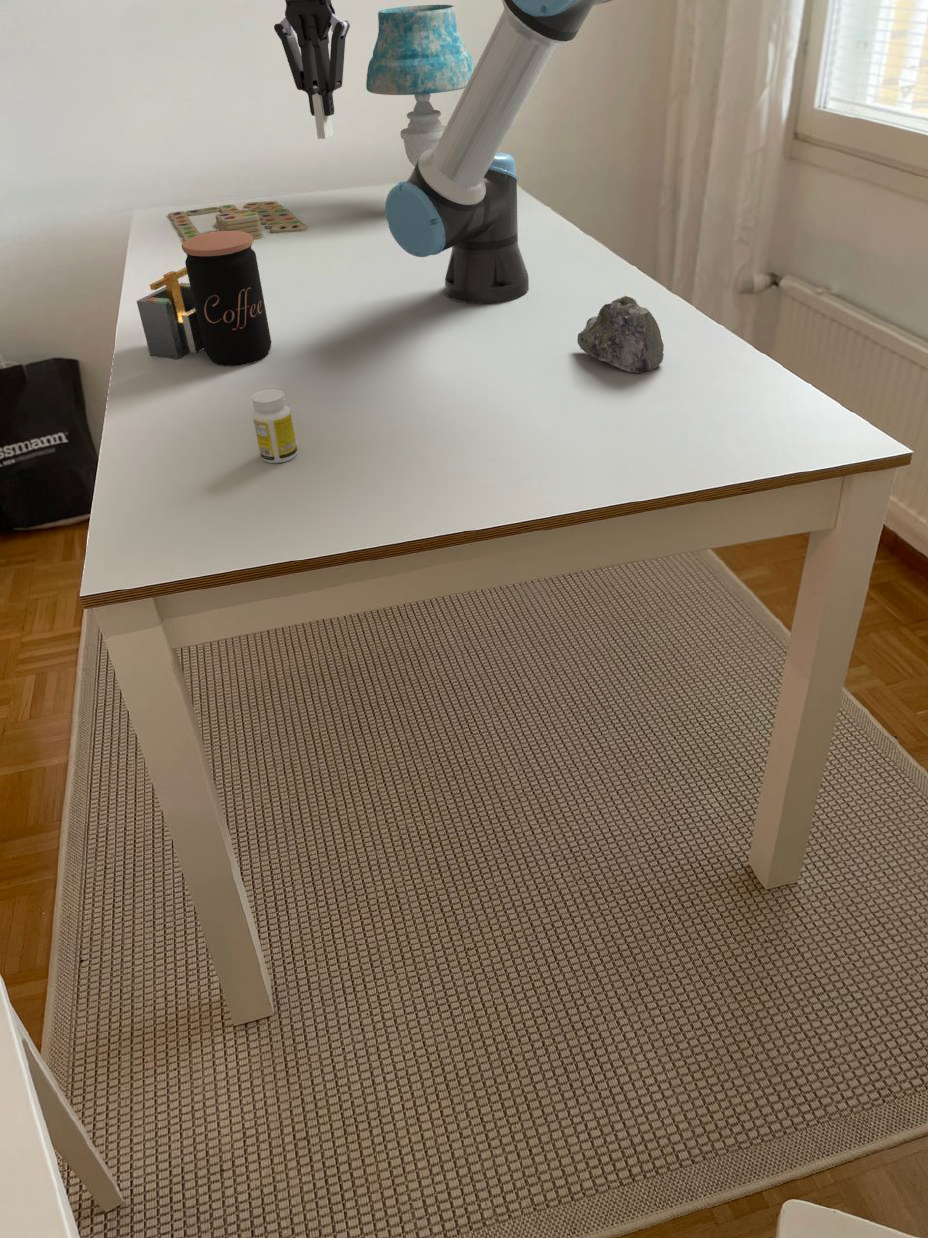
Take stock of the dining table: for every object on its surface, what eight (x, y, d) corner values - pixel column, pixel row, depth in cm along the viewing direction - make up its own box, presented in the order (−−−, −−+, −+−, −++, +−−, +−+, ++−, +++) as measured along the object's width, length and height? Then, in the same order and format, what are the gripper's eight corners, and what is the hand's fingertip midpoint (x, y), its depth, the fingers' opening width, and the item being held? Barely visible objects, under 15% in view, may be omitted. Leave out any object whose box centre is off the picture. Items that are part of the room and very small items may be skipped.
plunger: (227, 334, 163) (213, 266, 157) (193, 354, 156) (178, 284, 150) (199, 330, 165) (185, 264, 159) (165, 350, 158) (148, 281, 152)
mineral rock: (574, 349, 152) (574, 284, 147) (640, 341, 154) (643, 276, 148) (597, 380, 142) (599, 312, 136) (668, 371, 143) (673, 303, 137)
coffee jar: (208, 371, 153) (183, 253, 143) (204, 348, 162) (179, 235, 151) (276, 361, 155) (256, 244, 145) (268, 339, 164) (248, 226, 153)
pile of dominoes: (312, 233, 219) (308, 207, 216) (190, 253, 212) (185, 226, 209) (276, 201, 246) (272, 177, 242) (167, 218, 238) (162, 193, 235)
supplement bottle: (299, 446, 130) (289, 386, 125) (296, 462, 126) (285, 401, 121) (263, 449, 130) (251, 389, 125) (258, 465, 126) (246, 404, 121)
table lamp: (369, 207, 233) (347, 9, 209) (464, 194, 238) (454, 0, 214) (393, 231, 214) (373, 17, 191) (496, 216, 219) (489, 6, 196)
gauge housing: (211, 339, 165) (199, 284, 159) (178, 359, 158) (164, 301, 153) (184, 336, 167) (171, 281, 162) (150, 355, 160) (135, 299, 155)
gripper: (352, -34, 152) (370, 133, 166) (281, -31, 157) (304, 131, 171) (328, -31, 147) (348, 142, 161) (255, -27, 151) (281, 140, 165)
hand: (325, 136), depth 166 cm, fingers closed
